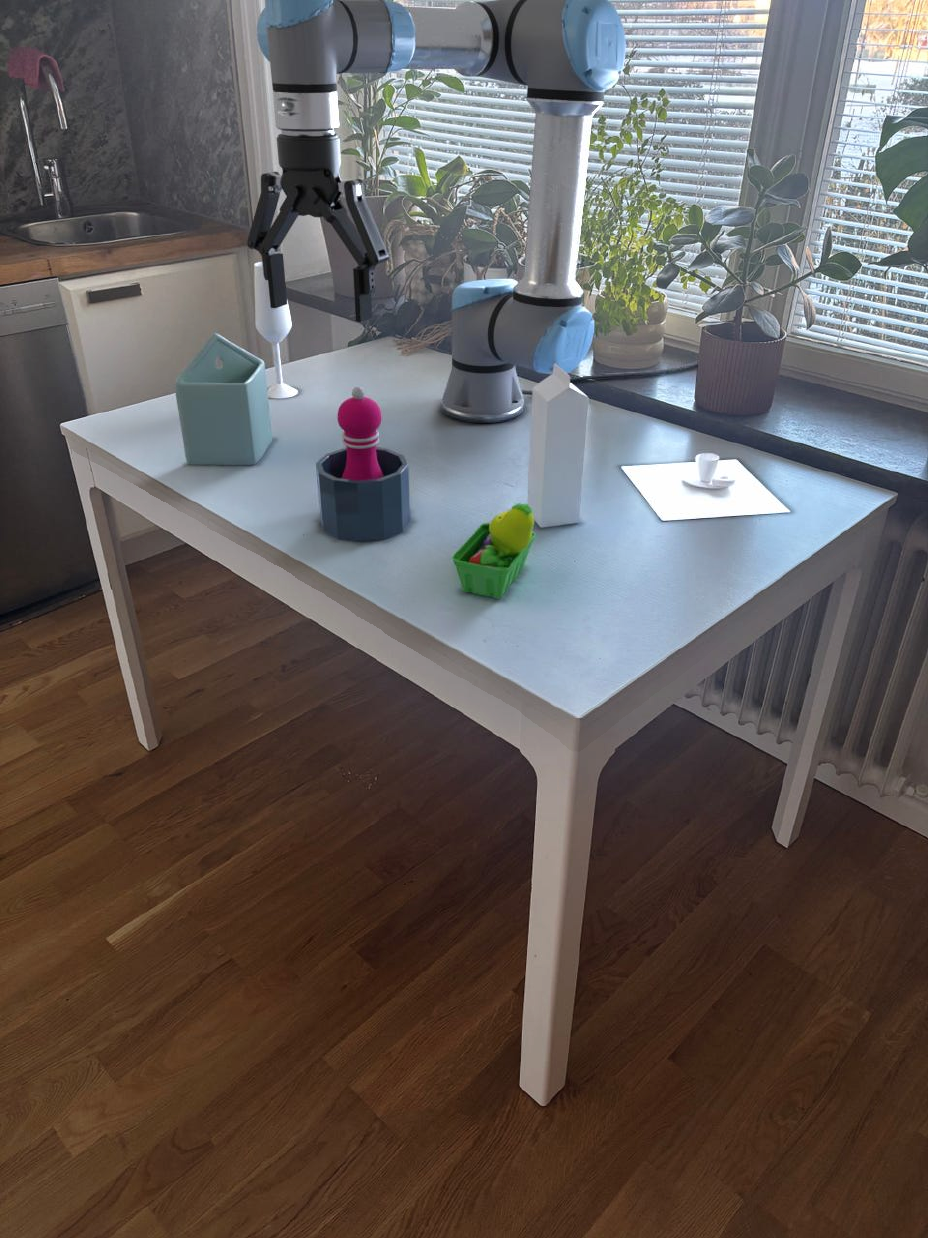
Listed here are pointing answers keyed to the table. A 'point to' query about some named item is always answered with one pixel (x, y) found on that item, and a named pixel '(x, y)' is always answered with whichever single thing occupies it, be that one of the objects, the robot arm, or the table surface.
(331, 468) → the crock
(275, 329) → the champagne flute
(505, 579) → the fruit basket
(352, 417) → the pepper mill
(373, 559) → the table surface
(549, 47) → the robot arm
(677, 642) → the table surface
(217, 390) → the planter
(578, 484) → the milk
